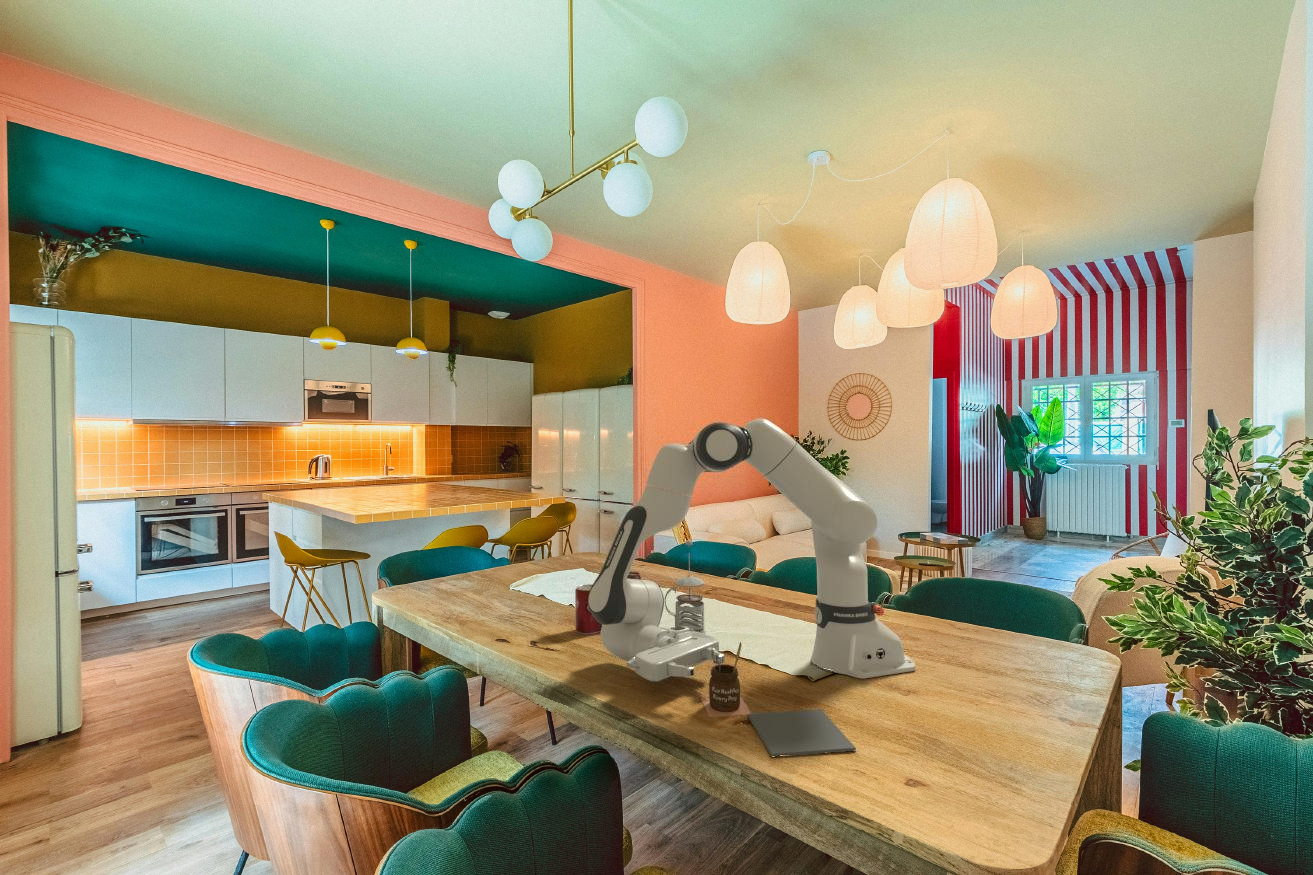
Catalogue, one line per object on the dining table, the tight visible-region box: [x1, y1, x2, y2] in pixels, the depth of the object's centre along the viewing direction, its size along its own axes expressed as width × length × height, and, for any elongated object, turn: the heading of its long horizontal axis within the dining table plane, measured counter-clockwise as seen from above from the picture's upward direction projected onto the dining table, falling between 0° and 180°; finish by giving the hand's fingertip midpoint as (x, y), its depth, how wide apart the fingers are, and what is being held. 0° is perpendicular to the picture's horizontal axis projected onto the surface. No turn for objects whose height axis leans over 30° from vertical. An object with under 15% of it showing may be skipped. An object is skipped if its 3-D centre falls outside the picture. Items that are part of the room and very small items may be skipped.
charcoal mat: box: [747, 708, 857, 757], centre depth 99 cm, size 14×14×1 cm
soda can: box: [574, 583, 603, 636], centre depth 157 cm, size 7×7×12 cm
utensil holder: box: [708, 641, 743, 712], centre depth 110 cm, size 6×6×12 cm
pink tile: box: [700, 695, 752, 718], centre depth 110 cm, size 8×8×1 cm
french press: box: [664, 539, 707, 634], centre depth 154 cm, size 10×12×25 cm
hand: (707, 666), depth 113 cm, fingers open, 8 cm apart
